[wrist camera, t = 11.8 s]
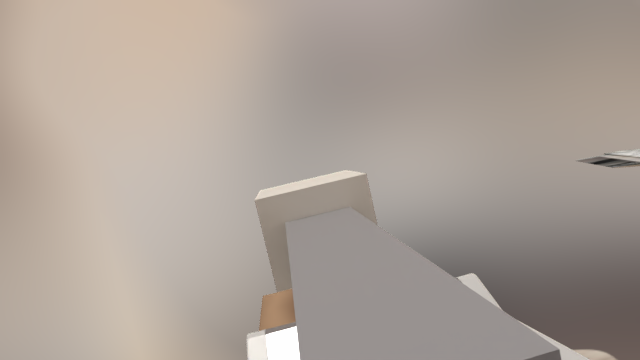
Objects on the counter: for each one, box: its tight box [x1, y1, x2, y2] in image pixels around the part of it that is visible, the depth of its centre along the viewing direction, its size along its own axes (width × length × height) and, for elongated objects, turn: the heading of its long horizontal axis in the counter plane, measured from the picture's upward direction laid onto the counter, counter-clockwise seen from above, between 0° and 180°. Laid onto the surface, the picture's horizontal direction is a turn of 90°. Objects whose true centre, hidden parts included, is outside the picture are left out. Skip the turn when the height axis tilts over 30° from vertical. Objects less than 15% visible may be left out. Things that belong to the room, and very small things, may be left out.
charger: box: [255, 170, 561, 360], centre depth 15 cm, size 6×21×5 cm, turn 6°
